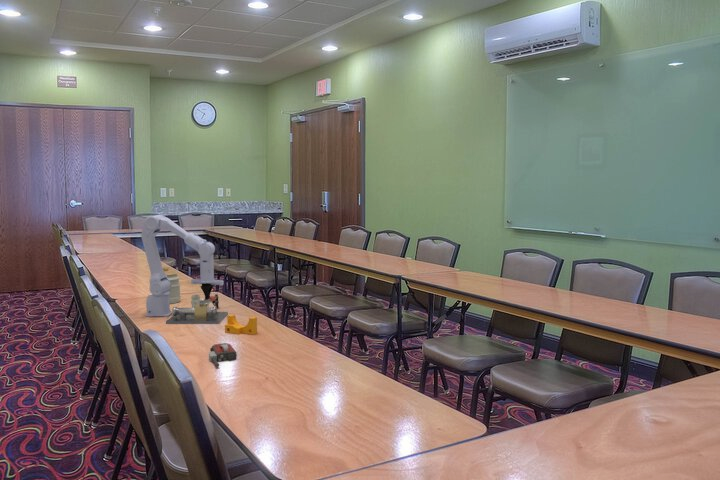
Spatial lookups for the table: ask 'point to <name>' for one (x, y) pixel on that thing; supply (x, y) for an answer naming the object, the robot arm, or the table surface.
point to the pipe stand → (196, 315)
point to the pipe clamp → (240, 326)
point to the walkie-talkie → (222, 353)
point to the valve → (197, 300)
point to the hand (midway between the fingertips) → (207, 300)
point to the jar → (173, 285)
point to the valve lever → (207, 300)
